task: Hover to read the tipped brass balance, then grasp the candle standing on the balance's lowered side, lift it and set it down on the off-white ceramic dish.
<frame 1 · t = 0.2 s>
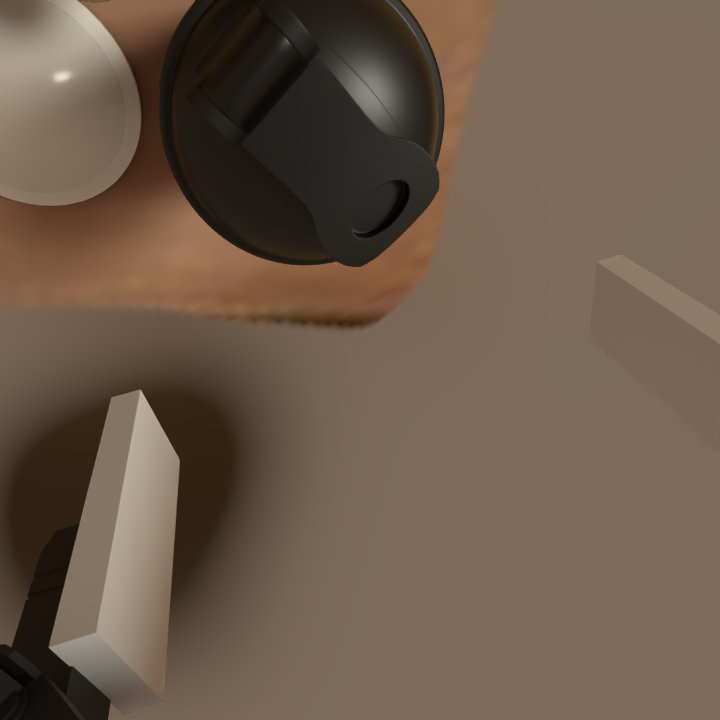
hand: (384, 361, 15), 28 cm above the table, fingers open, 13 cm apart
dish: (28, 96, 32), on the table
water bottle: (264, 74, 35), on the table
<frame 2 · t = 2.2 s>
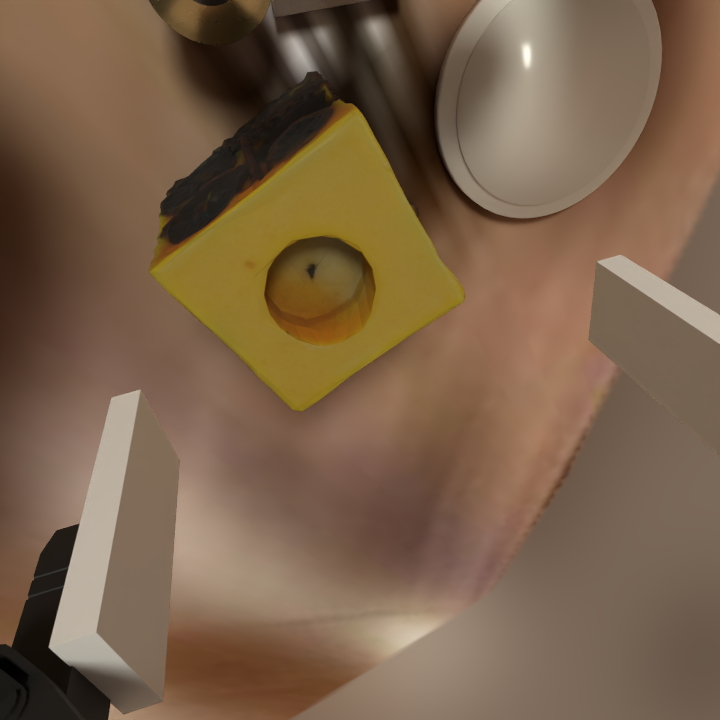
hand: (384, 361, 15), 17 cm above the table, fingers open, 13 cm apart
dish: (543, 99, 29), on the table
candle: (293, 206, 30), on the table
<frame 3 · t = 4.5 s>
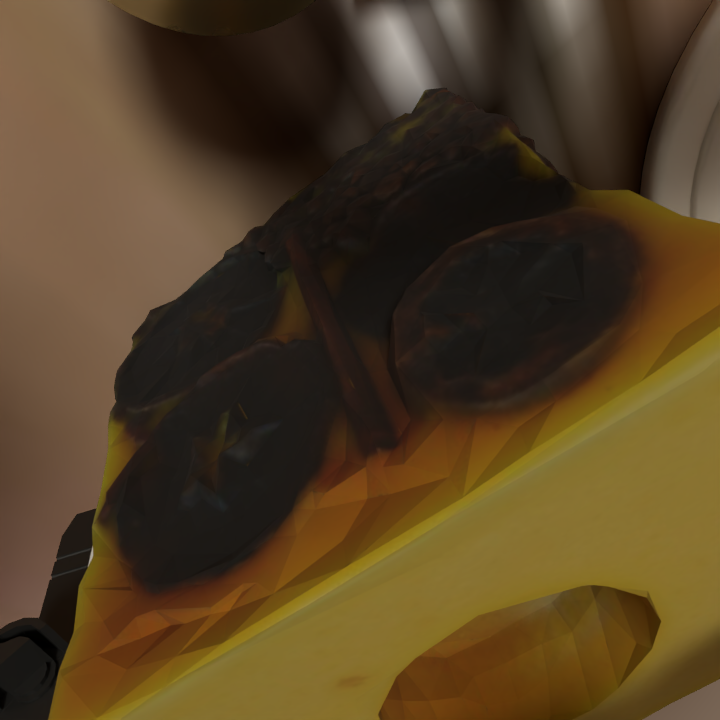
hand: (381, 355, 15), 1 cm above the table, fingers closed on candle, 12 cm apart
candle: (372, 334, 16), on the table, touching gripper
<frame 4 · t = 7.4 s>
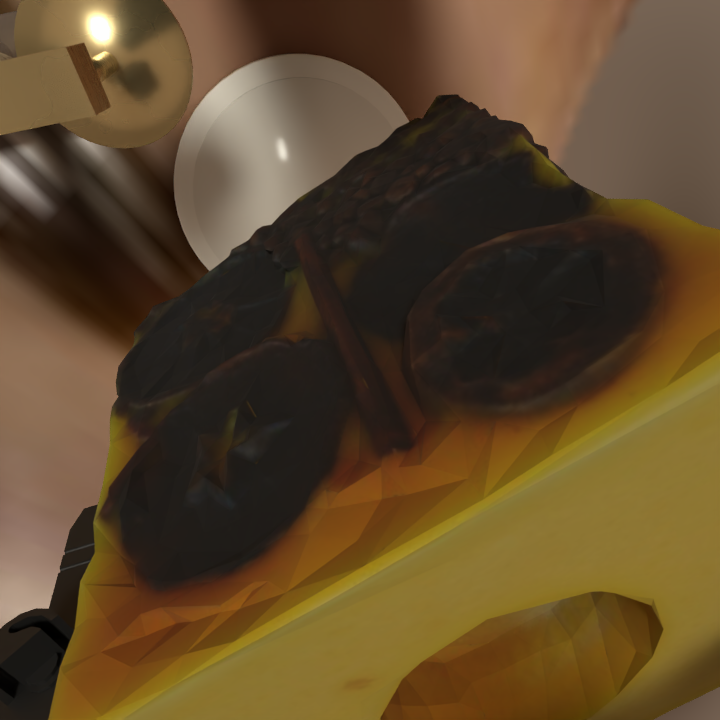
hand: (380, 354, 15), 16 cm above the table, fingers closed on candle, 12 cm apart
dish: (302, 193, 28), on the table
candle: (374, 337, 16), point 15 cm above the table, touching gripper
balance: (10, 74, 22), on the table
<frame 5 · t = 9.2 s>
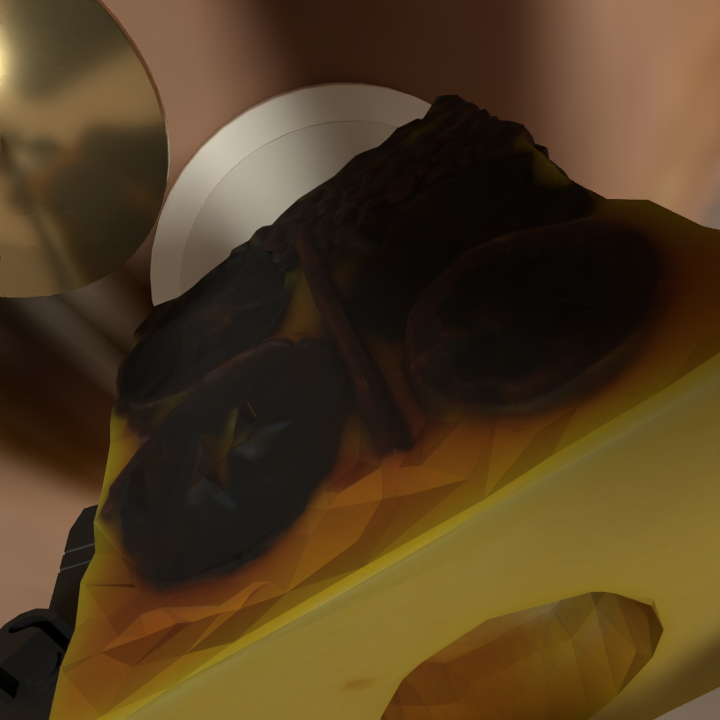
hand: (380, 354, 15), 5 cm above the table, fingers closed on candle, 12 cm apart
dish: (342, 281, 19), on the table
candle: (374, 337, 16), point 4 cm above the table, touching gripper
when the fingers open (3 cm above the table, at t = 10.6 s): candle drops 1 cm, resting on dish.
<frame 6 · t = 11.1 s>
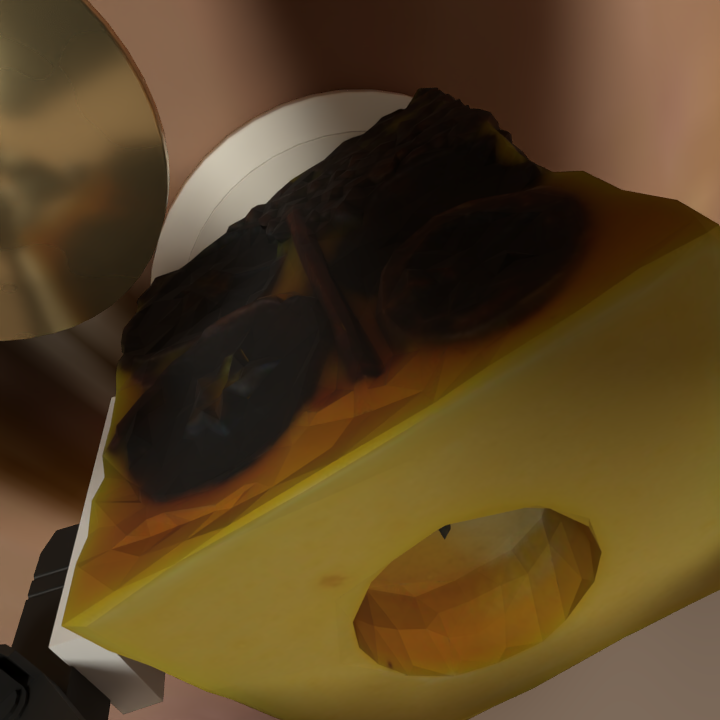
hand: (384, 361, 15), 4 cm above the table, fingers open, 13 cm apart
dish: (354, 299, 18), on the table
candle: (360, 314, 17), point 1 cm above the table, touching dish
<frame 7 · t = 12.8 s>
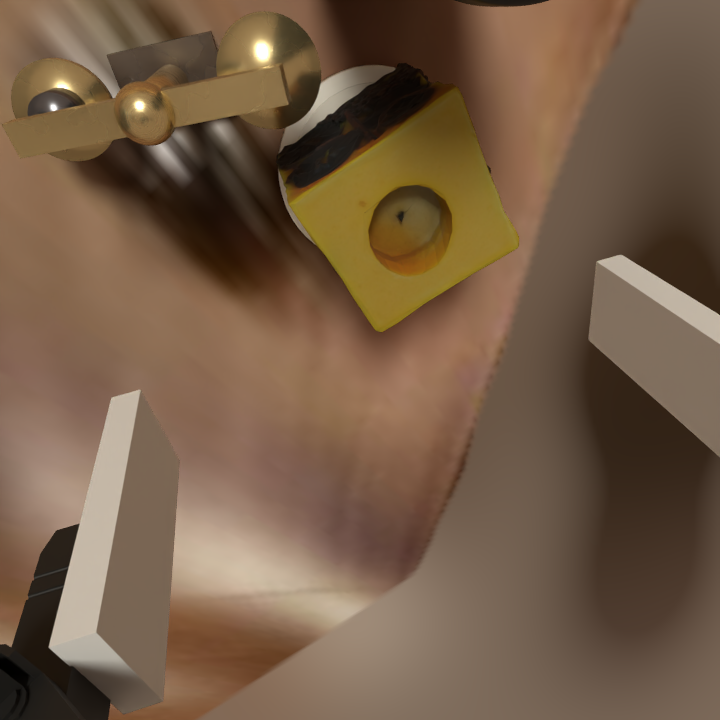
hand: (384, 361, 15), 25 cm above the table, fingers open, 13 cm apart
dish: (370, 169, 37), on the table
candle: (373, 174, 36), point 1 cm above the table, touching dish
balance: (173, 80, 32), on the table
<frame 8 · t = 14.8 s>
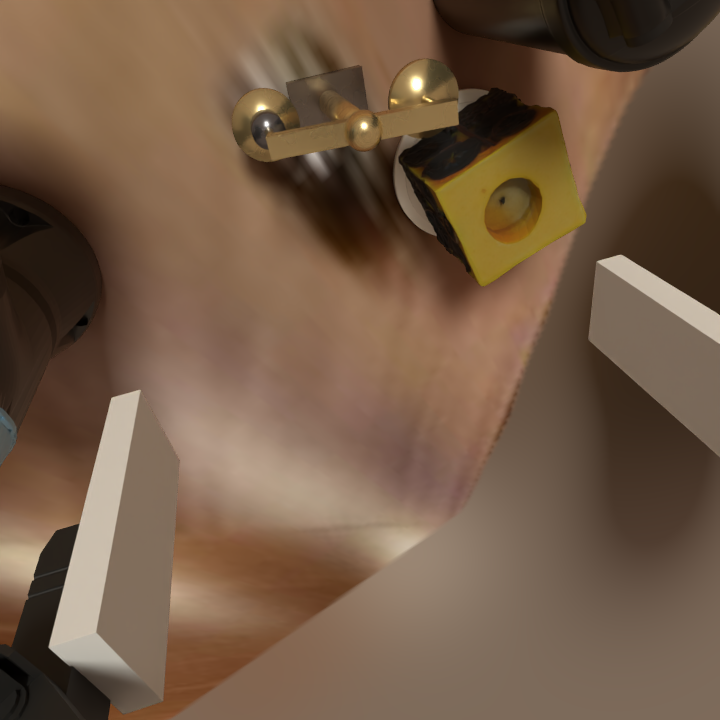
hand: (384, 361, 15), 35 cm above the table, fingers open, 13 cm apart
dish: (460, 166, 48), on the table
candle: (464, 170, 48), point 1 cm above the table, touching dish
balance: (327, 100, 43), on the table
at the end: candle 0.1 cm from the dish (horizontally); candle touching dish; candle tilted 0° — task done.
